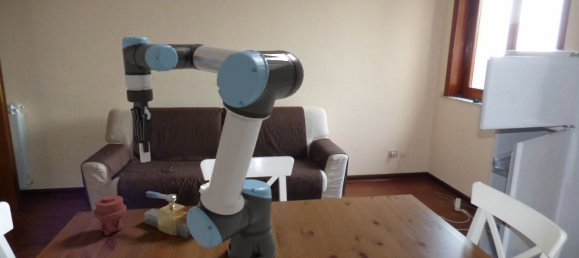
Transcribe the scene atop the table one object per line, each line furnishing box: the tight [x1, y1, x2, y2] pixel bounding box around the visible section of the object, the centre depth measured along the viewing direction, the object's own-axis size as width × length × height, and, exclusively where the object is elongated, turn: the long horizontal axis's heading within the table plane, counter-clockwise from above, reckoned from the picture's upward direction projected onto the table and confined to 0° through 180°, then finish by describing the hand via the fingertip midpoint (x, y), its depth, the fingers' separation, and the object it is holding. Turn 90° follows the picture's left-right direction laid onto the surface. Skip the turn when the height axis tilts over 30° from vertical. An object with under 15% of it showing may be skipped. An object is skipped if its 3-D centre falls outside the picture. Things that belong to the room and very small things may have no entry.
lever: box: [145, 190, 177, 203], centre depth 127 cm, size 3×12×1 cm, turn 71°
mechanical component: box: [93, 194, 127, 236], centre depth 125 cm, size 12×10×10 cm
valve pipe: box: [143, 201, 192, 238], centre depth 128 cm, size 20×6×11 cm, turn 61°
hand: (145, 161), depth 119 cm, fingers closed
